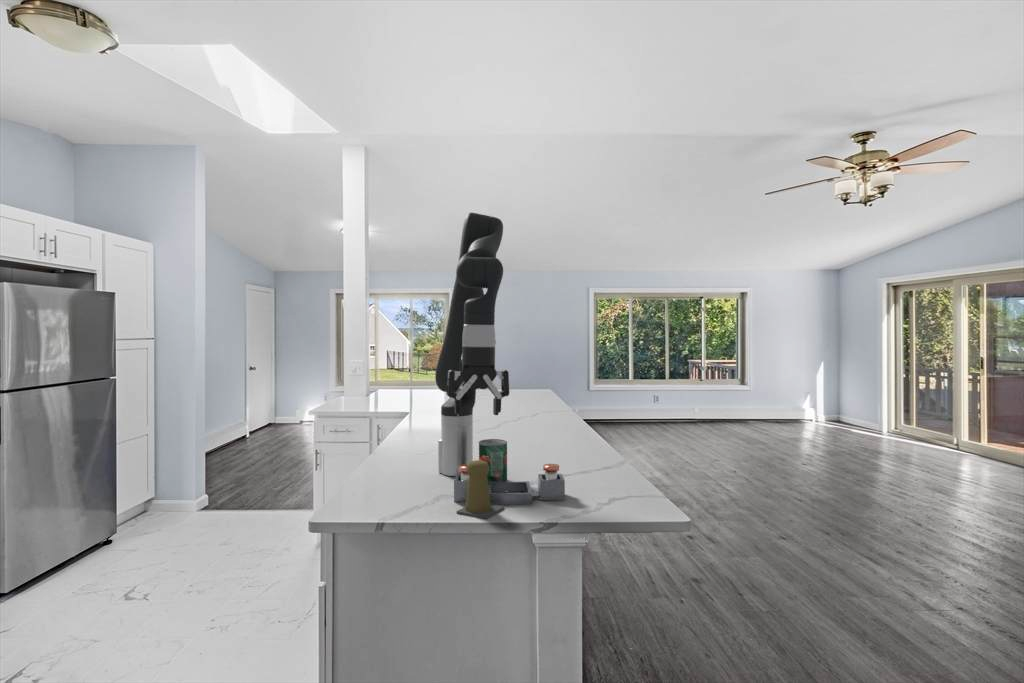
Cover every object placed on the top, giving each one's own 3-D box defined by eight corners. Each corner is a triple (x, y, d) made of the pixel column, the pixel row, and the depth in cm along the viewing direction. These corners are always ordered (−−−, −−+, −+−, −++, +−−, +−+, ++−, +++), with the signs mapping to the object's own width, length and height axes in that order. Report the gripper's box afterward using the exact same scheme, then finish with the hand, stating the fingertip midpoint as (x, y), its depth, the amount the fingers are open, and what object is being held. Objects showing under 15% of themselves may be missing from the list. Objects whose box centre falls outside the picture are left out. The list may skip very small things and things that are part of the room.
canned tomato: (513, 481, 149) (513, 441, 149) (493, 487, 143) (493, 445, 143) (493, 475, 154) (493, 437, 154) (472, 481, 148) (472, 441, 148)
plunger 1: (455, 495, 133) (455, 467, 132) (464, 491, 136) (464, 463, 136) (469, 497, 131) (469, 469, 131) (478, 493, 134) (478, 465, 134)
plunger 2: (540, 494, 133) (540, 466, 133) (547, 490, 137) (547, 463, 137) (555, 496, 131) (555, 468, 131) (561, 492, 135) (561, 464, 135)
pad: (456, 513, 122) (456, 511, 122) (475, 503, 129) (475, 501, 129) (486, 519, 118) (486, 516, 118) (504, 508, 125) (504, 506, 125)
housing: (453, 504, 128) (453, 484, 128) (456, 491, 139) (456, 472, 139) (565, 503, 129) (565, 482, 129) (560, 490, 140) (560, 471, 139)
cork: (495, 510, 122) (495, 462, 122) (470, 514, 120) (470, 465, 119) (484, 503, 128) (484, 457, 127) (461, 506, 125) (460, 459, 125)
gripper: (504, 344, 128) (503, 412, 129) (445, 343, 124) (444, 413, 125) (513, 345, 121) (511, 417, 121) (450, 345, 117) (449, 419, 117)
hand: (477, 415), depth 123 cm, fingers open, 8 cm apart
